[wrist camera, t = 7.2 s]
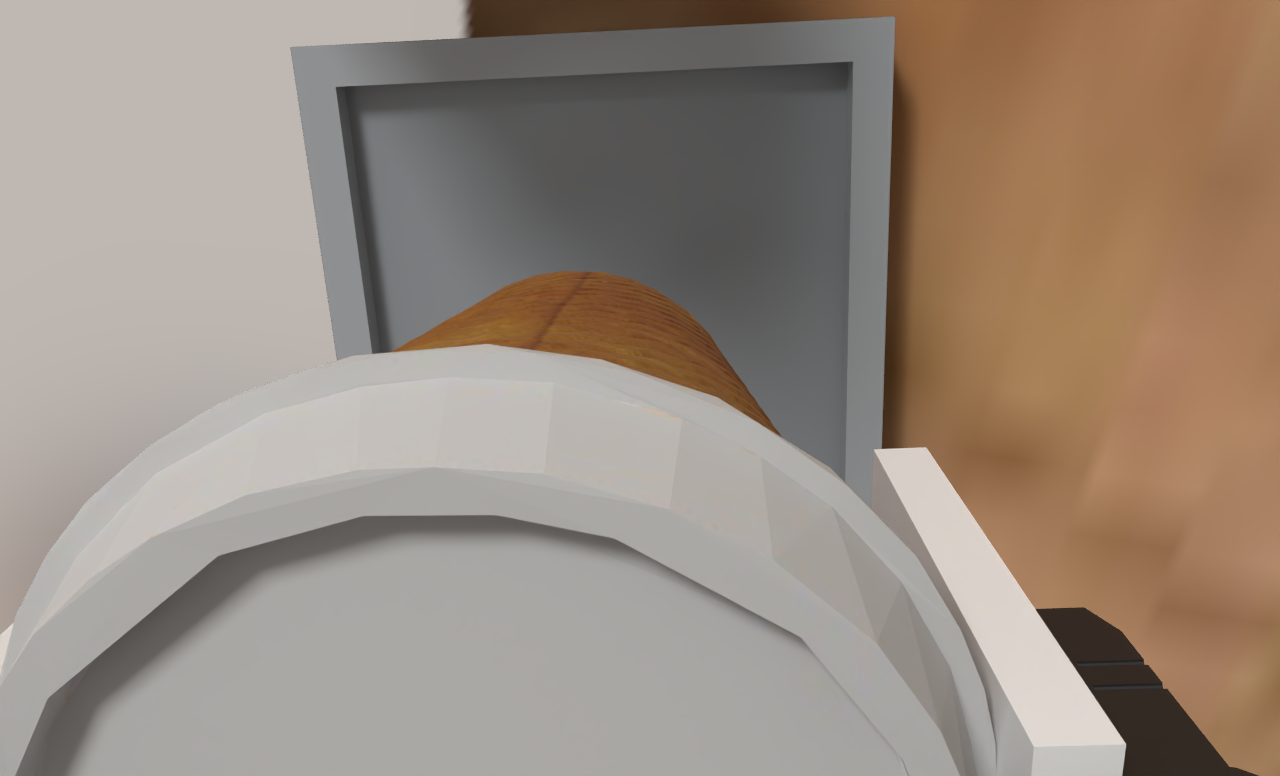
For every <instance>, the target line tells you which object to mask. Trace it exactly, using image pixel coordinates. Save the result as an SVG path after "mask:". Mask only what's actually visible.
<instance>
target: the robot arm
mask: <svg viewBox="0 0 1280 776" xmlns="http://www.w3.org/2000/svg"><path fill="white" fill-rule="evenodd" d="M872 509H873V510H874V511H875V512H876V513H877V514H878V515H879V516H880V517H881V518H882V519H883V520H884V521H885V522H886V523H887V524H888V525H889V526H890V527H891V528H892V529H893V530H894V531H895V532H896V533H897V534H898V535H899V536H900V537H901V538H902V540H903V541H904V542H905V543H906V544H907V546H908V547H909V548H910V549H911V550H912V552H913V553H914V554H915V555H916V556H917V558H918V560H919V561H920V563H921V565H922V566H923V568H924V570H925V571H926V573H927V575H928V576H929V578H930V580H931V581H932V583H933V584H934V586H935V588H936V589H937V591H938V593H939V594H940V596H941V598H942V599H943V601H944V603H945V604H946V606H947V608H948V609H949V611H950V613H951V614H952V616H953V618H954V619H955V621H956V623H957V624H958V626H959V628H960V629H961V632H962V634H963V637H964V639H965V642H966V644H967V647H968V649H969V652H970V654H971V657H972V659H973V662H974V664H975V667H976V669H977V672H978V674H979V677H980V679H981V682H982V684H983V687H984V689H985V694H986V699H987V704H988V709H989V714H990V719H991V724H992V728H993V733H994V738H995V744H996V776H1258V775H1255V774H1252V773H1249V772H1247V771H1244V770H1241V769H1238V768H1233V767H1229V766H1228V765H1227V763H1226V762H1225V761H1224V760H1223V758H1222V757H1221V756H1220V755H1219V753H1218V752H1217V751H1216V750H1215V748H1214V747H1213V746H1212V745H1211V743H1210V742H1209V741H1208V740H1207V738H1206V737H1205V736H1204V735H1203V733H1202V732H1201V731H1200V730H1199V728H1198V727H1197V726H1196V724H1195V723H1194V722H1193V721H1192V719H1191V718H1190V717H1189V716H1188V714H1187V713H1186V712H1185V711H1184V709H1183V708H1182V707H1181V706H1180V704H1179V703H1178V702H1177V701H1176V699H1175V698H1174V697H1173V696H1172V694H1171V693H1170V692H1169V691H1168V689H1163V686H1162V682H1161V681H1160V679H1159V678H1158V677H1157V675H1156V674H1155V673H1154V672H1153V670H1152V669H1151V668H1150V667H1149V665H1144V659H1143V658H1142V657H1141V655H1140V654H1139V653H1138V652H1137V650H1136V649H1135V648H1134V647H1133V645H1132V644H1131V643H1130V642H1129V640H1128V639H1127V638H1126V637H1125V635H1124V634H1123V633H1122V632H1121V631H1120V630H1119V629H1117V628H1115V627H1114V626H1112V625H1111V624H1109V623H1108V622H1106V621H1104V620H1103V619H1101V618H1100V617H1098V616H1097V615H1095V614H1093V613H1092V612H1090V611H1089V610H1087V609H1086V608H1053V609H1035V608H1034V607H1033V605H1032V604H1031V602H1030V601H1029V599H1028V598H1027V596H1026V595H1025V593H1024V592H1023V590H1022V589H1021V587H1020V586H1019V584H1018V583H1017V581H1016V580H1015V578H1014V577H1013V576H1012V574H1011V573H1010V571H1009V570H1008V568H1007V567H1006V565H1005V564H1004V562H1003V561H1002V559H1001V558H1000V556H999V555H998V553H997V552H996V550H995V549H994V547H993V546H992V544H991V543H990V541H989V540H988V538H987V537H986V535H985V534H984V532H983V531H982V530H981V528H980V527H979V525H978V524H977V522H976V521H975V519H974V518H973V516H972V515H971V513H970V512H969V510H968V509H967V507H966V506H965V504H964V503H963V501H962V500H961V498H960V497H959V495H958V494H957V492H956V491H955V489H954V488H953V486H952V485H951V483H950V482H949V481H948V479H947V478H946V476H945V475H944V473H943V472H942V470H941V469H940V467H939V466H938V464H937V463H936V461H935V460H934V458H933V457H932V455H931V454H930V452H929V451H928V449H927V448H926V447H924V448H897V449H874V454H873V489H872ZM13 624H14V623H13ZM13 624H12V625H11V626H10V627H9V628H8V629H6V630H5V631H4V632H3V633H2V634H1V635H0V674H1V670H2V666H3V662H4V658H5V655H6V651H7V647H8V643H9V639H10V635H11V632H12V628H13Z"/></svg>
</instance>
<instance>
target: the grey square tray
mask: <svg viewBox="0 0 1280 776" xmlns="http://www.w3.org/2000/svg"><path fill="white" fill-rule="evenodd" d="M894 41H895V17H875V18H856V19H836V20H816V21H797V22H777V23H757V24H737V25H718V26H698V27H678V28H658V29H639V30H619V31H599V32H580V33H560V34H540V35H520V36H501V37H481V38H461V39H442V40H422V41H403V42H382V43H364V44H345V45H344V44H343V45H324V46H305V47H291V48H290V49H291V55H292V62H293V69H294V75H295V82H296V88H297V95H298V102H299V109H300V116H301V122H302V129H303V136H304V142H305V149H306V156H307V162H308V169H309V175H310V183H311V189H312V195H313V202H314V209H315V216H316V223H317V229H318V235H319V243H320V249H321V256H322V262H323V269H324V276H325V283H326V290H327V296H328V303H329V310H330V316H331V322H332V330H333V336H334V343H335V350H336V356H337V361H338V360H341V359H344V358H347V357H351V356H355V355H367V354H378V353H390V352H391V351H393V350H395V349H397V348H399V347H401V346H402V345H404V344H406V343H407V342H409V341H411V340H413V339H415V338H417V337H419V336H421V335H423V334H424V333H426V332H428V331H429V330H431V329H433V328H434V327H436V326H437V325H439V324H441V323H442V322H444V321H445V320H447V319H449V318H451V317H454V316H456V315H457V314H459V313H461V312H463V311H464V310H466V309H468V308H469V307H471V306H473V305H475V304H476V303H478V302H480V301H481V300H483V299H485V298H486V297H488V296H490V295H491V294H493V293H495V292H496V291H498V290H500V289H501V288H503V287H504V286H507V285H510V284H512V283H515V282H518V281H521V280H524V279H526V278H529V277H532V276H535V275H540V274H547V273H553V272H560V271H581V272H603V273H607V274H612V275H616V276H620V277H624V278H628V279H632V280H635V281H637V282H639V283H641V284H644V285H646V286H648V287H650V288H652V289H655V290H657V291H658V292H660V293H662V294H663V295H665V296H666V297H668V298H669V299H670V300H672V301H673V302H675V303H676V304H678V305H679V306H681V307H682V308H683V309H685V310H686V311H688V312H689V313H690V314H691V315H692V316H693V317H694V318H695V319H696V320H697V321H698V322H699V324H700V325H701V326H702V327H703V328H704V329H705V330H706V331H707V332H708V333H709V334H710V335H711V337H712V338H713V340H714V342H715V343H716V345H717V347H718V348H719V350H720V351H721V352H722V354H723V356H724V357H725V358H726V359H727V361H728V363H729V364H730V365H731V367H732V368H733V369H734V371H735V373H736V374H737V375H738V376H739V378H740V379H741V381H742V382H743V383H744V384H745V386H746V387H747V389H748V391H749V392H750V394H751V395H752V396H753V397H754V398H755V400H756V401H757V403H758V405H759V406H760V407H761V408H762V410H763V411H764V413H765V414H766V416H767V417H768V418H769V419H770V421H771V423H772V424H773V426H774V427H775V428H776V429H777V430H778V432H779V433H780V435H781V437H782V438H783V439H785V440H787V441H788V442H790V443H791V444H793V445H795V446H796V447H798V448H799V449H801V450H803V451H804V452H806V453H807V454H809V455H811V456H812V457H814V458H815V459H817V460H819V461H820V462H822V463H823V464H825V465H827V466H828V467H830V468H831V469H832V470H833V471H834V472H835V473H836V474H837V475H838V476H839V477H840V478H841V479H842V480H843V481H844V482H845V483H846V484H847V485H848V486H849V487H850V488H851V489H852V490H853V491H854V492H855V493H856V494H857V495H858V496H859V497H860V498H861V499H862V500H863V501H864V502H865V503H866V504H867V505H868V506H869V507H871V508H872V489H873V454H874V449H882V425H883V393H884V361H885V329H886V297H887V265H888V233H889V201H890V169H891V137H892V105H893V73H894Z"/></svg>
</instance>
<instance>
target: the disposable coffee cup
mask: <svg viewBox="0 0 1280 776" xmlns="http://www.w3.org/2000/svg"><path fill="white" fill-rule="evenodd" d="M0 776H996V744H995V738H994V733H993V728H992V724H991V719H990V714H989V709H988V704H987V699H986V694H985V689H984V687H983V684H982V682H981V679H980V677H979V674H978V672H977V669H976V667H975V664H974V662H973V659H972V657H971V654H970V652H969V649H968V647H967V644H966V642H965V639H964V637H963V634H962V632H961V629H960V628H959V626H958V624H957V623H956V621H955V619H954V618H953V616H952V614H951V613H950V611H949V609H948V608H947V606H946V604H945V603H944V601H943V599H942V598H941V596H940V594H939V593H938V591H937V589H936V588H935V586H934V584H933V583H932V581H931V580H930V578H929V576H928V575H927V573H926V571H925V570H924V568H923V566H922V565H921V563H920V561H919V560H918V558H917V556H916V555H915V554H914V553H913V552H912V550H911V549H910V548H909V547H908V546H907V544H906V543H905V542H904V541H903V540H902V538H901V537H900V536H899V535H898V534H897V533H896V532H895V531H894V530H893V529H892V528H891V527H890V526H889V525H888V524H887V523H886V522H885V521H884V520H883V519H882V518H881V517H880V516H879V515H878V514H877V513H876V512H875V511H874V510H873V509H872V508H871V507H869V506H868V505H867V504H866V503H865V502H864V501H863V500H862V499H861V498H860V497H859V496H858V495H857V494H856V493H855V492H854V491H853V490H852V489H851V488H850V487H849V486H848V485H847V484H846V483H845V482H844V481H843V480H842V479H841V478H840V477H839V476H838V475H837V474H836V473H835V472H834V471H833V470H832V469H831V468H830V467H828V466H827V465H825V464H823V463H822V462H820V461H819V460H817V459H815V458H814V457H812V456H811V455H809V454H807V453H806V452H804V451H803V450H801V449H799V448H798V447H796V446H795V445H793V444H791V443H790V442H788V441H787V440H785V439H783V438H782V437H781V435H780V433H779V432H778V430H777V429H776V428H775V427H774V426H773V424H772V423H771V421H770V419H769V418H768V417H767V416H766V414H765V413H764V411H763V410H762V408H761V407H760V406H759V405H758V403H757V401H756V400H755V398H754V397H753V396H752V395H751V394H750V392H749V391H748V389H747V387H746V386H745V384H744V383H743V382H742V381H741V379H740V378H739V376H738V375H737V374H736V373H735V371H734V369H733V368H732V367H731V365H730V364H729V363H728V361H727V359H726V358H725V357H724V356H723V354H722V352H721V351H720V350H719V348H718V347H717V345H716V343H715V342H714V340H713V338H712V337H711V335H710V334H709V333H708V332H707V331H706V330H705V329H704V328H703V327H702V326H701V325H700V324H699V322H698V321H697V320H696V319H695V318H694V317H693V316H692V315H691V314H690V313H689V312H688V311H686V310H685V309H683V308H682V307H681V306H679V305H678V304H676V303H675V302H673V301H672V300H670V299H669V298H668V297H666V296H665V295H663V294H662V293H660V292H658V291H657V290H655V289H652V288H650V287H648V286H646V285H644V284H641V283H639V282H637V281H635V280H632V279H628V278H624V277H620V276H616V275H612V274H607V273H603V272H581V271H560V272H553V273H547V274H540V275H535V276H532V277H529V278H526V279H524V280H521V281H518V282H515V283H512V284H510V285H507V286H504V287H503V288H501V289H500V290H498V291H496V292H495V293H493V294H491V295H490V296H488V297H486V298H485V299H483V300H481V301H480V302H478V303H476V304H475V305H473V306H471V307H469V308H468V309H466V310H464V311H463V312H461V313H459V314H457V315H456V316H454V317H451V318H449V319H447V320H445V321H444V322H442V323H441V324H439V325H437V326H436V327H434V328H433V329H431V330H429V331H428V332H426V333H424V334H423V335H421V336H419V337H417V338H415V339H413V340H411V341H409V342H407V343H406V344H404V345H402V346H401V347H399V348H397V349H395V350H393V351H391V352H390V353H378V354H367V355H355V356H351V357H347V358H344V359H341V360H338V361H334V362H331V363H328V364H324V365H321V366H318V367H315V368H311V369H309V370H306V371H303V372H300V373H297V374H294V375H291V376H288V377H285V378H282V379H279V380H276V381H273V382H270V383H267V384H265V385H262V386H259V387H256V388H253V389H250V390H247V391H245V392H243V393H240V394H238V395H236V396H234V397H232V398H230V399H228V400H226V401H224V402H222V403H219V404H217V405H215V406H213V407H212V408H210V409H209V410H207V411H205V412H204V413H202V414H201V415H199V416H197V417H196V418H194V419H192V420H191V421H189V422H187V423H186V424H184V425H182V426H181V427H179V428H178V429H176V430H174V431H173V432H171V433H170V434H168V435H166V436H165V437H163V438H161V439H160V440H158V441H156V442H155V443H153V444H152V445H150V446H149V447H147V448H146V449H145V450H144V451H143V452H142V453H141V454H140V455H138V456H137V457H136V458H135V459H134V460H133V461H132V462H130V463H129V464H128V465H127V466H126V467H125V468H124V469H123V470H122V471H120V472H119V473H118V474H117V475H116V476H115V477H114V478H112V479H111V480H110V481H109V482H108V483H107V484H106V485H104V486H103V487H102V488H101V489H100V490H99V491H98V492H97V493H95V494H94V495H93V496H92V497H91V498H90V499H89V500H88V501H87V502H86V503H85V504H84V506H83V507H82V508H81V510H80V511H79V512H78V514H77V515H76V516H75V518H74V519H73V520H72V522H71V523H70V524H69V526H68V527H67V528H66V530H65V531H64V532H63V534H62V535H61V536H60V538H59V539H58V540H57V542H56V543H55V544H54V546H53V547H52V548H51V550H50V551H49V553H48V554H47V555H46V557H45V559H44V561H43V563H42V565H41V567H40V569H39V571H38V573H37V575H36V577H35V579H34V581H33V583H32V585H31V587H30V589H29V590H28V592H27V594H26V596H25V598H24V600H23V602H22V604H21V606H20V608H19V610H18V612H17V614H16V616H15V621H14V624H13V628H12V632H11V635H10V639H9V643H8V647H7V651H6V655H5V658H4V662H3V666H2V670H1V674H0Z"/></svg>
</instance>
